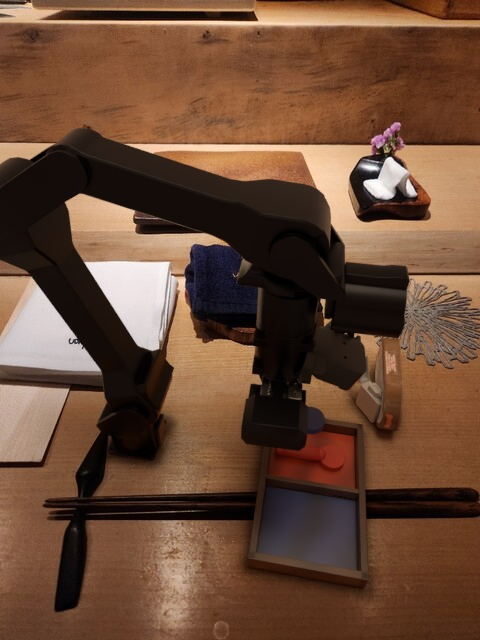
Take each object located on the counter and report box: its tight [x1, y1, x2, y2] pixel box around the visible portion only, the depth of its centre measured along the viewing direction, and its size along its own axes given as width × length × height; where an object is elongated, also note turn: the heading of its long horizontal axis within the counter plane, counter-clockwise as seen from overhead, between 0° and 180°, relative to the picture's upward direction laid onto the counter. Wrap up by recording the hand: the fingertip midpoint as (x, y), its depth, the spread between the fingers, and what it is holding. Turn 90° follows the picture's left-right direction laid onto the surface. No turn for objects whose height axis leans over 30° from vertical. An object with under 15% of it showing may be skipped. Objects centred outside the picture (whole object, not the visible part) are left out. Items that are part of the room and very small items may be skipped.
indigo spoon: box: [307, 405, 326, 434], centre depth 55 cm, size 9×3×2 cm, turn 82°
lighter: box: [355, 353, 382, 424], centre depth 66 cm, size 7×2×8 cm, turn 26°
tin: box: [374, 337, 405, 432], centre depth 67 cm, size 15×3×8 cm, turn 168°
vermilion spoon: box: [275, 445, 345, 472], centre depth 61 cm, size 9×3×2 cm, turn 81°
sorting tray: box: [246, 418, 370, 589], centre depth 58 cm, size 13×20×3 cm, turn 171°
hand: (275, 413), depth 55 cm, fingers closed on indigo spoon, 2 cm apart
